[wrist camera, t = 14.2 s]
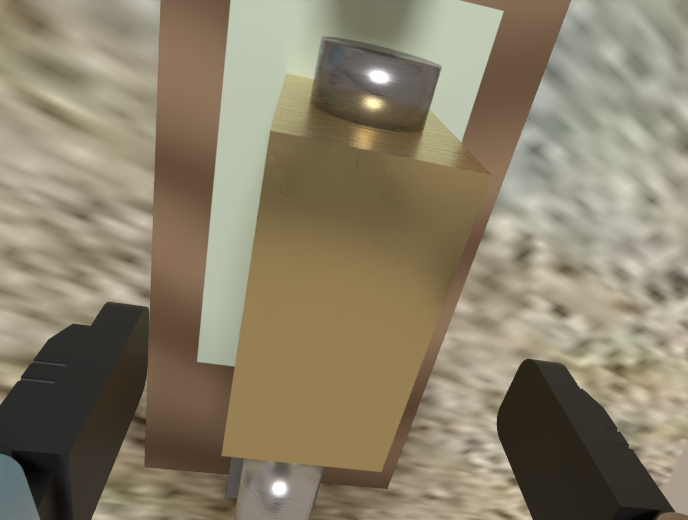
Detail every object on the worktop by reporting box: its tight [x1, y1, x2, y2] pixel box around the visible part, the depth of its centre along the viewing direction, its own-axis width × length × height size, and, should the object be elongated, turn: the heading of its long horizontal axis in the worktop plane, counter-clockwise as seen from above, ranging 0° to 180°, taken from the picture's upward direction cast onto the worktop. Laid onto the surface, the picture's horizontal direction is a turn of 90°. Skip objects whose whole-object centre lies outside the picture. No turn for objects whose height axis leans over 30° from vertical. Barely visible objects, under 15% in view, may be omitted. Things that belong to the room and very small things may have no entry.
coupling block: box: [221, 36, 492, 472], centre depth 15 cm, size 12×4×7 cm, turn 168°
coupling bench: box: [145, 0, 571, 520], centre depth 17 cm, size 29×12×6 cm, turn 168°
